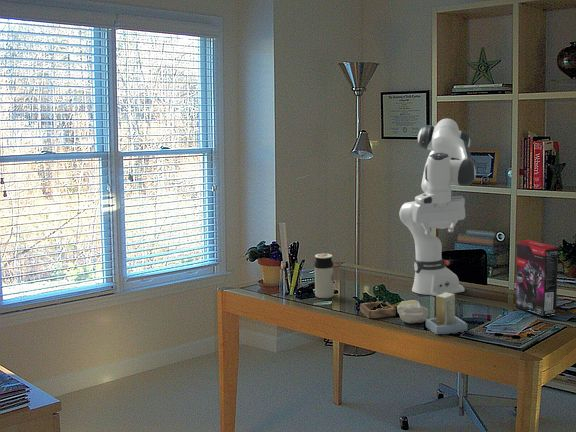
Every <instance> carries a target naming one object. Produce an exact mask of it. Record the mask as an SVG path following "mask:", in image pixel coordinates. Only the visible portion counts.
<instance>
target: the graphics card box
mask: <svg viewBox="0 0 576 432" xmlns="http://www.w3.org/2000/svg"><path fill="white" fill-rule="evenodd" d="M558 261H559V246H554V245H551V244H547V243H542V242H540V241H536V240H532V239H524V240H523V239H522V240H519V241H517V242H516V274H515V280H516V281H515V305H514V306H515V307H514V308H517V309H520V310H522V311H525V310H531V311H535V312H537V313H539V314H540V315H542V316H547V315H551V314H556V315H557V292H558V265H559V262H558Z"/></svg>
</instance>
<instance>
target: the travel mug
mask: <svg viewBox="0 0 576 432" xmlns="http://www.w3.org/2000/svg"><path fill="white" fill-rule="evenodd" d="M314 257H315V261H314V264H313V265H314V296H315V297H316V298H318V299H330V298H332V297H334V296H335V294H334V293H335V290H334V288H335V287H334V285H335V284H334V283H335V282H334V262H333V260H332V258H333V255H332V254H330V253H317V254H315V255H314Z"/></svg>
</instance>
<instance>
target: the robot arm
mask: <svg viewBox="0 0 576 432" xmlns="http://www.w3.org/2000/svg"><path fill="white" fill-rule="evenodd" d="M417 142H418V145H419V147H420V148H421V149H424V150H428V151H430V152H429V154H428V157H427V159H426V162H425V164H424V169H423V175H422V178H421V179H422V180H421V186H420V187H421V190H422V192H423V193H421V194H418V195H416V196H415V197H414V200H413V201H409V202H408V201H407V202H404V203H403V204H402V205H401V207H400V209H399V212H398V213H399V219H400V221H401V223H402V224H403V225H404V226H405V227H407V228H408V230H409V231H410V234H411V235H412V237H413V241H414V246H415V248H414V249H415V250H414V251H415V258H414V263H413V266H414V269H413V270H414V281H413V285H412V288H411V291H412V292H413V293H416V294H419V295H424V296H427V295H428V296H434V297H436V296H437V295H440V294H442V293H445V292H447V293H452V294H459V293H462V292H465V291H466V290H465V287H464V286H463V285H461V284H460V280H459V277H458V276H457V274H456V273H454V272H453V271H452V270H450V268H448V267H447V266H449V265H450V261H449V260H447V259H444V258H442V241H441V240H440V238H438V237H437V236H436V235H435V234H433V233H432V231H431V229H441V230H442V229H443V230H444V229H447V232H448V233H454V229H455V226H456V224H457V223H458V221H461V220H462V221H463V220H464V219H466V208H465V204H466V200H465V199H466V198H465V197H464V196H463V195H460V194H459V195H452V186H464V187H468V186H470V185H471V184H472V183H474V181H475V180H476V174H477V173H476V172H477V171H476V167H475V164H474V161H473V159H472V155H471V151H470V147H471V138H470V133H468V132H467V131H464V130H460V129H459V126H458V123H457V122H456V121H455V120H454V119H452V118H448V117H447V118H443V119H441V120H439V121H438V122H437V123H436V125H432V124H427V125H423V126H422V127H421V128H420V130H419V132H418V134H417Z"/></svg>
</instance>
